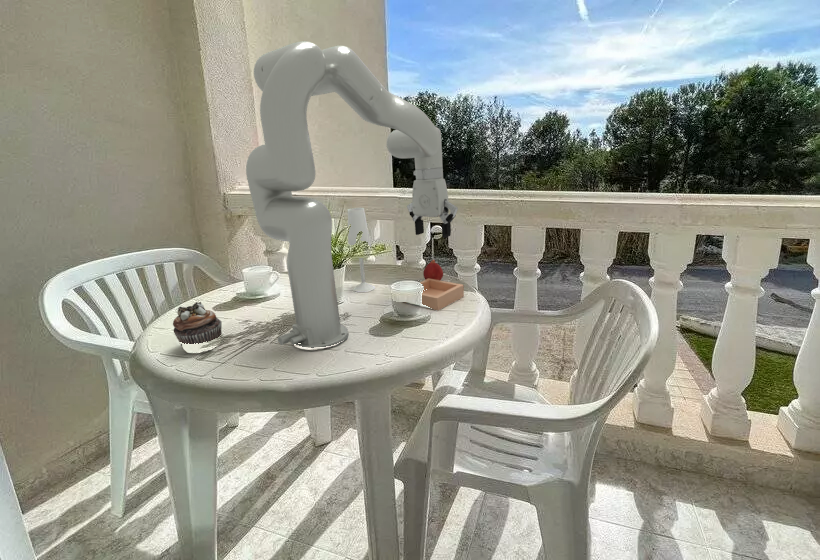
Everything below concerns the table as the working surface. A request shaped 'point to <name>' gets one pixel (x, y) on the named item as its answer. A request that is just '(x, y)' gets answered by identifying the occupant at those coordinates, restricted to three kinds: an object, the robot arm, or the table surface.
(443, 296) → the tray
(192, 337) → the cupcake
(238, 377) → the table surface
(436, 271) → the onion
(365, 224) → the white table lamp
